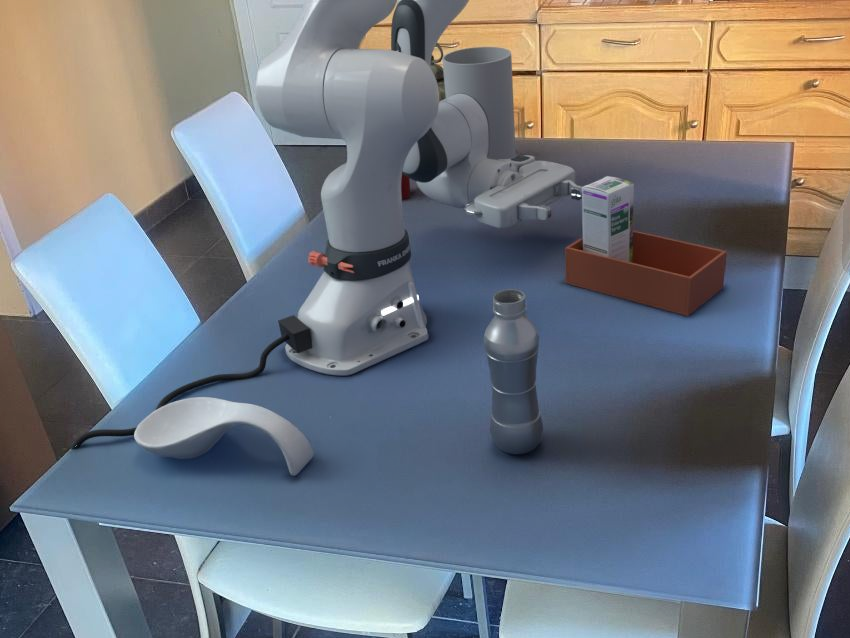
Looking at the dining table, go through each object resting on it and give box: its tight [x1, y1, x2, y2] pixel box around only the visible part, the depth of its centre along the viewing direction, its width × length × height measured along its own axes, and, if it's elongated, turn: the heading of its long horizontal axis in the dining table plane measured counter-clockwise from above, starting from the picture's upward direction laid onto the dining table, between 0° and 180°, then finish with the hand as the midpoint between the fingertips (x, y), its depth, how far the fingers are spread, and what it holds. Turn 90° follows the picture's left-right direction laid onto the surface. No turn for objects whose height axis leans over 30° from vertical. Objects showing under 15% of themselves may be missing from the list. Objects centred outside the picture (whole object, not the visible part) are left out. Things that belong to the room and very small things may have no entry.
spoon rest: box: [133, 396, 314, 477], centre depth 117 cm, size 24×12×7 cm, turn 68°
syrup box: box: [581, 175, 635, 262], centre depth 146 cm, size 6×6×14 cm
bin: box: [564, 229, 728, 317], centre depth 145 cm, size 22×11×6 cm, turn 51°
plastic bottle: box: [483, 288, 544, 455], centre depth 109 cm, size 6×7×20 cm
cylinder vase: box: [441, 46, 517, 160], centre depth 176 cm, size 12×12×25 cm
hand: (566, 203), depth 148 cm, fingers open, 8 cm apart
